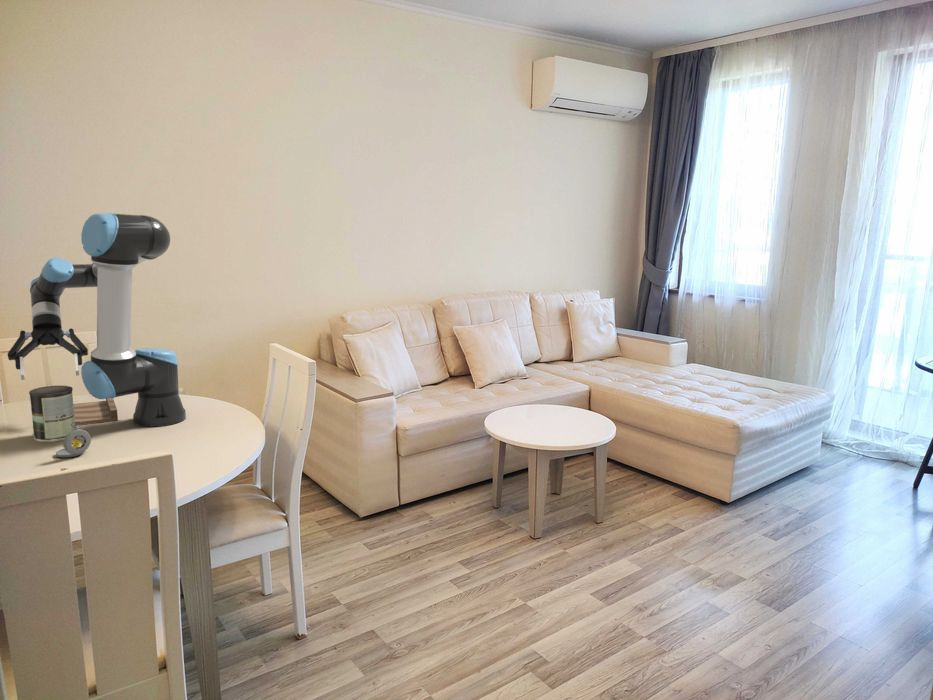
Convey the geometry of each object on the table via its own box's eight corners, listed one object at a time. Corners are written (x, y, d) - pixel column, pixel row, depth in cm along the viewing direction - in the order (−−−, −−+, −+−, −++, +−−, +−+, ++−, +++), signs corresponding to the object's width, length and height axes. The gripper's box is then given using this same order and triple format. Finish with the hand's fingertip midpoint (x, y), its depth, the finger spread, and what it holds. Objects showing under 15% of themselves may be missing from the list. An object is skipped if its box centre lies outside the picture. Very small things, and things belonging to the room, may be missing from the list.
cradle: (55, 408, 203) (54, 398, 202) (112, 402, 212) (111, 393, 211) (55, 427, 183) (54, 416, 183) (117, 420, 192) (117, 409, 192)
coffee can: (25, 442, 170) (20, 393, 168) (46, 431, 180) (42, 385, 178) (64, 442, 171) (60, 394, 169) (83, 431, 181) (79, 385, 179)
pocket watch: (65, 450, 165) (62, 414, 163) (97, 450, 166) (94, 415, 164) (47, 460, 157) (43, 423, 155) (81, 461, 158) (78, 424, 156)
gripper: (93, 324, 201) (99, 378, 191) (-2, 328, 187) (0, 386, 177) (92, 310, 195) (98, 364, 186) (-5, 313, 182) (-4, 372, 172)
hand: (50, 375), depth 182 cm, fingers open, 13 cm apart
